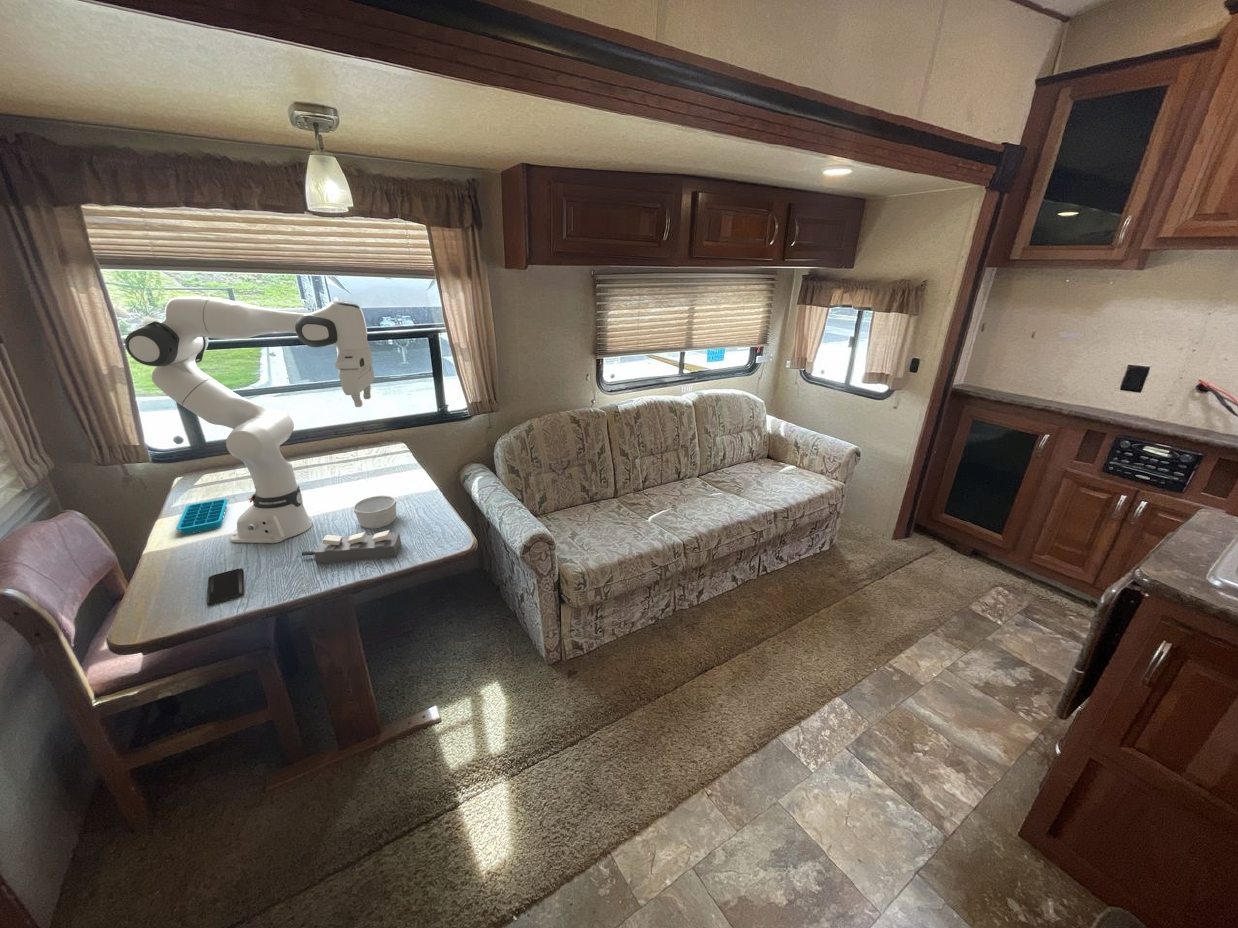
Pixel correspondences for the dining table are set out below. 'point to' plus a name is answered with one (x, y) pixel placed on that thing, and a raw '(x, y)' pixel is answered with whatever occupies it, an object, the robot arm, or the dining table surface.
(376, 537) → the block
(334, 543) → the rocker
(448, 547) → the dining table surface
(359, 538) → the rocker
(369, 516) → the ramekin
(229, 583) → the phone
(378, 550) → the power strip
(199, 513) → the ice cube tray
